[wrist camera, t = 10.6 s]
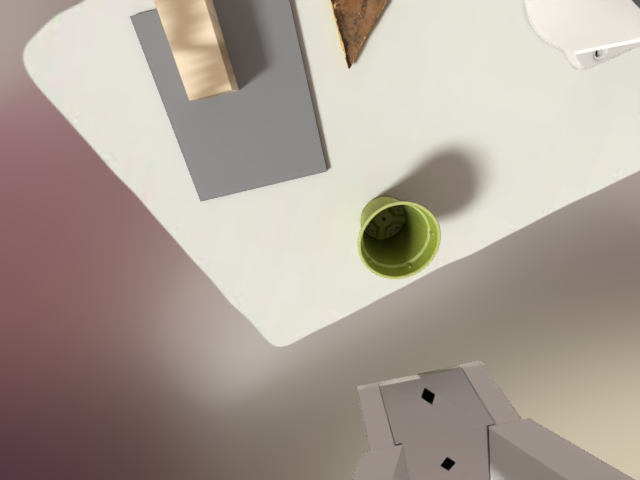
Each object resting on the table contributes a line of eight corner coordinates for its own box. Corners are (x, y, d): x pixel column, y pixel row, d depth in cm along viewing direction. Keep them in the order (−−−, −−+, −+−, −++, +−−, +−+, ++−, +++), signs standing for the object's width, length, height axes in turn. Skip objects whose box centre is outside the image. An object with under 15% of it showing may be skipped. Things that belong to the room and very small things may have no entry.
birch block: (239, 90, 39) (208, -14, 35) (231, 89, 34) (195, -29, 31) (201, 100, 39) (166, -3, 35) (189, 100, 35) (148, -17, 31)
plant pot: (333, 217, 46) (340, 242, 38) (387, 168, 44) (407, 184, 36) (377, 261, 49) (393, 293, 41) (430, 217, 47) (457, 242, 39)
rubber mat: (284, -23, 35) (284, -24, 35) (326, 170, 43) (327, 171, 43) (132, 17, 36) (129, 16, 35) (201, 200, 44) (200, 201, 43)
